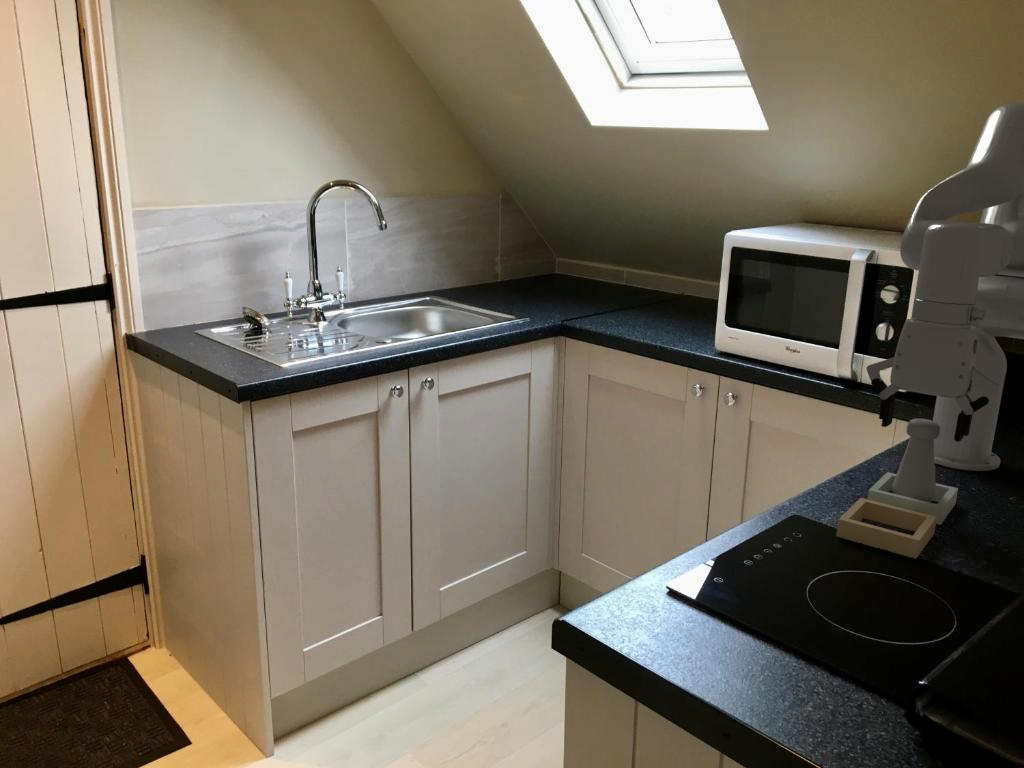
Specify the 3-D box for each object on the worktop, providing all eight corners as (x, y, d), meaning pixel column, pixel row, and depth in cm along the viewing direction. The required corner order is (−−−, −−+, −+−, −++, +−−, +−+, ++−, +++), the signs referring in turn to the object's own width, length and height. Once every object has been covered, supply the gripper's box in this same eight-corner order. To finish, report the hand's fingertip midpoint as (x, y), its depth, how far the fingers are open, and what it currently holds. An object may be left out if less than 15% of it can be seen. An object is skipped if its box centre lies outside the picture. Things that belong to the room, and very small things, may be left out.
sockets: (884, 487, 132) (887, 472, 132) (955, 504, 127) (958, 488, 126) (836, 536, 114) (838, 519, 113) (916, 558, 108) (919, 540, 107)
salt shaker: (920, 498, 128) (934, 415, 125) (940, 513, 123) (955, 427, 120) (882, 497, 128) (895, 414, 125) (901, 512, 123) (914, 426, 119)
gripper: (1016, 320, 116) (993, 440, 120) (883, 304, 126) (866, 415, 130) (1008, 325, 110) (984, 451, 114) (869, 308, 120) (852, 424, 124)
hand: (921, 432), depth 122 cm, fingers open, 9 cm apart
